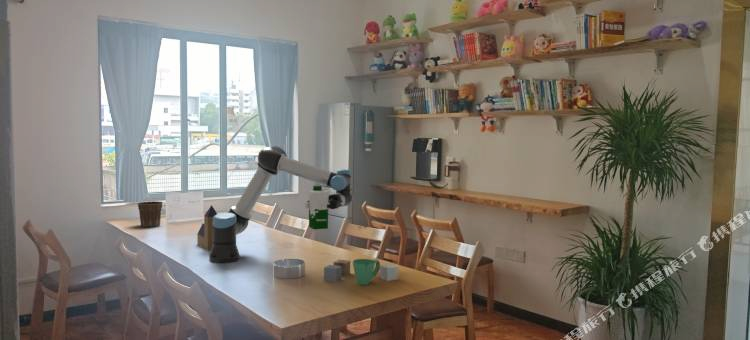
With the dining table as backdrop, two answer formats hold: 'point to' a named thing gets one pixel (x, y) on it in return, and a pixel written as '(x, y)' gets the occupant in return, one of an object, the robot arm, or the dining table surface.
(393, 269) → the white cube
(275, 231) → the dining table surface
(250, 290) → the dining table surface
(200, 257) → the dining table surface
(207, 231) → the toy building blocks
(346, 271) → the walnut block
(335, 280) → the slate grey block
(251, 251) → the dining table surface
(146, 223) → the plant pot
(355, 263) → the mug
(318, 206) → the soya milk
